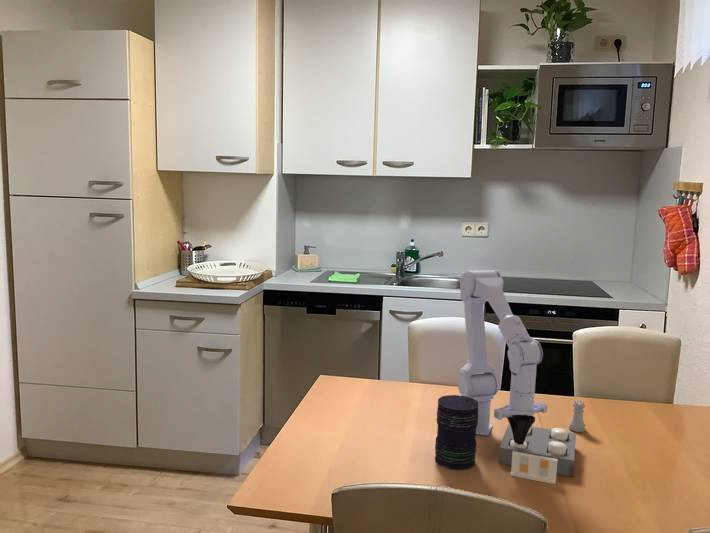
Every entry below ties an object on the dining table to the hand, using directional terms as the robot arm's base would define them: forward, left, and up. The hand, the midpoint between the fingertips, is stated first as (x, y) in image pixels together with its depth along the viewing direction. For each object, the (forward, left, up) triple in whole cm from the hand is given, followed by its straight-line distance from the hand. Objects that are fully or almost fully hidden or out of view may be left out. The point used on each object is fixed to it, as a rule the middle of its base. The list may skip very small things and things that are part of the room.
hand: (518, 443), depth 150 cm
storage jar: (-14, -7, -4) cm, 16 cm away
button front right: (+9, 0, -2) cm, 9 cm away
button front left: (0, 0, -3) cm, 3 cm away
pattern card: (+4, -8, -4) cm, 10 cm away
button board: (+4, +5, -4) cm, 8 cm away
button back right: (+9, +9, -2) cm, 13 cm away
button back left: (0, +9, -2) cm, 9 cm away
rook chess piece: (+13, +27, -4) cm, 30 cm away
